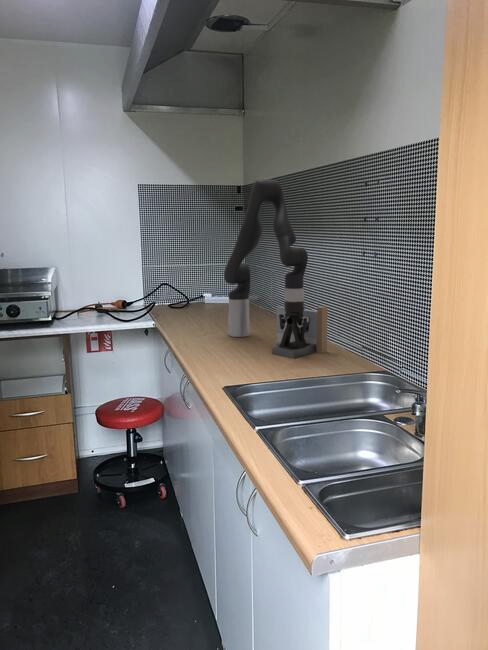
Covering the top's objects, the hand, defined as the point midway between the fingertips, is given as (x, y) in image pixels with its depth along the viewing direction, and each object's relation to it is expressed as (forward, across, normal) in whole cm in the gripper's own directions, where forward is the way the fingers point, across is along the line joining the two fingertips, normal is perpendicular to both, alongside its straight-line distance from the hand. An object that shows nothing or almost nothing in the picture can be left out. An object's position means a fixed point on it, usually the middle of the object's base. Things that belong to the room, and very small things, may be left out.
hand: (294, 341), depth 209 cm
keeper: (+5, 0, 0) cm, 5 cm away
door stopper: (+2, 0, -1) cm, 2 cm away
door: (+5, -4, +8) cm, 10 cm away
